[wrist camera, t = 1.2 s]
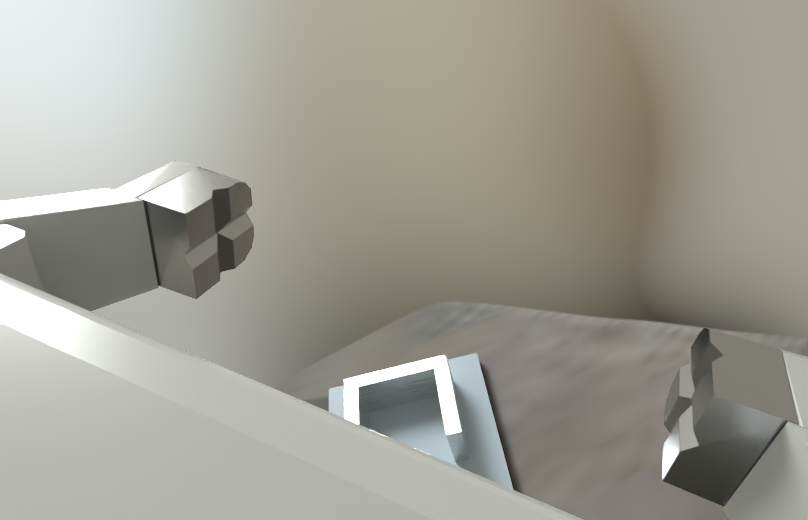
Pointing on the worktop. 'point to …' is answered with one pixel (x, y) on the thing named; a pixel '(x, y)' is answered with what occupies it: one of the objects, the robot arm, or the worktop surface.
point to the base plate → (426, 425)
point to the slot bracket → (408, 396)
